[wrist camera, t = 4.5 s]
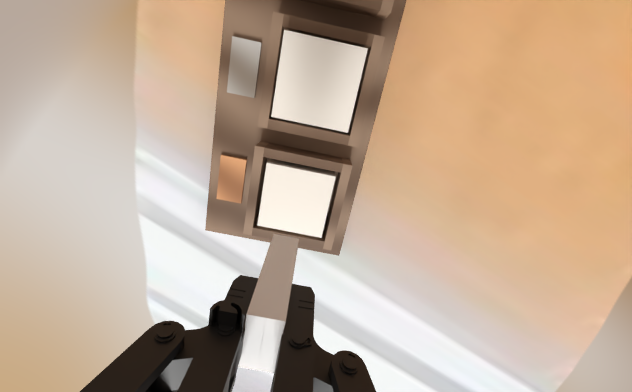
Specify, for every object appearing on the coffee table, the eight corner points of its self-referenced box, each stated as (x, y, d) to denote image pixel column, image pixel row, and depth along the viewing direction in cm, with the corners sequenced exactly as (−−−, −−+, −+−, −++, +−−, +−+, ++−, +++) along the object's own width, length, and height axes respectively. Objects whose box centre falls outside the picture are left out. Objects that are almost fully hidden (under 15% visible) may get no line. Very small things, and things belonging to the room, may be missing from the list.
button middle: (287, 35, 23) (284, 29, 21) (363, 52, 24) (367, 48, 21) (275, 114, 25) (271, 116, 23) (345, 128, 26) (348, 132, 23)
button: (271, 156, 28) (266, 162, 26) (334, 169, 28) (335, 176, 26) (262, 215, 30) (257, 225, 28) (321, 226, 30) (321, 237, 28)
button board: (248, -170, 22) (231, -231, 18) (433, -123, 23) (458, -171, 18) (212, 221, 33) (195, 241, 29) (338, 246, 34) (340, 269, 29)
